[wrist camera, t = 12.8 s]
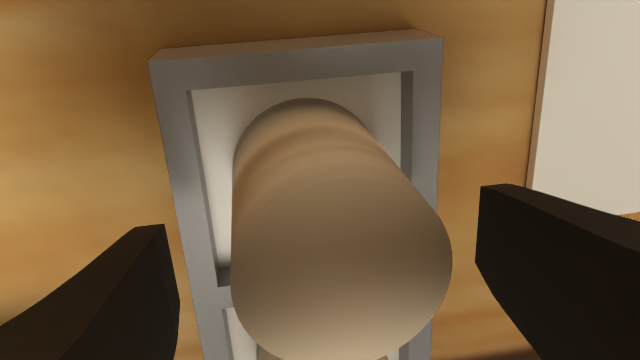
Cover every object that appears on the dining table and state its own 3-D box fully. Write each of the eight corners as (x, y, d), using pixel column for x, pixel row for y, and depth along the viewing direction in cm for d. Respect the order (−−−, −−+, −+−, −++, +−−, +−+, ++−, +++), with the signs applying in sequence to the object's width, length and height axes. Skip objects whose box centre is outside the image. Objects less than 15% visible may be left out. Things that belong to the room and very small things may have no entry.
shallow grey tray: (409, 386, 21) (427, 430, 19) (225, 416, 20) (224, 466, 18) (416, 28, 15) (443, 37, 13) (159, 48, 14) (147, 61, 12)
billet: (376, 224, 16) (446, 351, 11) (241, 240, 16) (244, 383, 10) (375, 91, 15) (458, 164, 9) (223, 104, 14) (215, 190, 9)
